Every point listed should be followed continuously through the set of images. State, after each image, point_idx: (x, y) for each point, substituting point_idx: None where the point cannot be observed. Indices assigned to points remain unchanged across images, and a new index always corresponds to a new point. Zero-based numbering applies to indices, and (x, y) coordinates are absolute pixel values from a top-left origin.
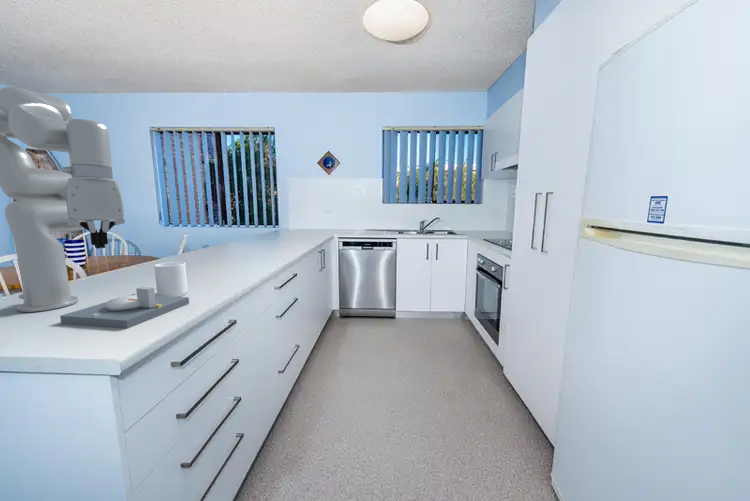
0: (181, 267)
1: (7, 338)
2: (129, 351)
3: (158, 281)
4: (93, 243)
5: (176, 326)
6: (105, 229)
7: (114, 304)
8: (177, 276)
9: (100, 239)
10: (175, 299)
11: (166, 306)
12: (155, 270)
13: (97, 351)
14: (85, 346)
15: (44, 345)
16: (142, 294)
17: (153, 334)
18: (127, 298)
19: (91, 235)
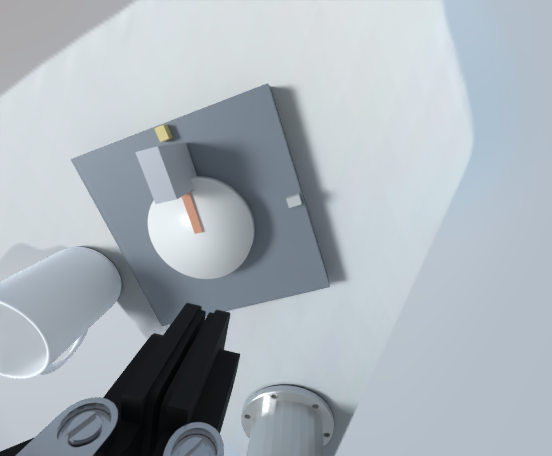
0: None
1: (419, 266)
2: None
3: (88, 303)
4: (232, 355)
5: None
6: (80, 433)
7: (243, 215)
8: (28, 275)
9: (181, 360)
10: (105, 172)
11: (146, 130)
12: (63, 338)
13: None
14: (382, 36)
15: (414, 144)
16: (176, 170)
17: None
18: (199, 248)
19: (222, 414)
